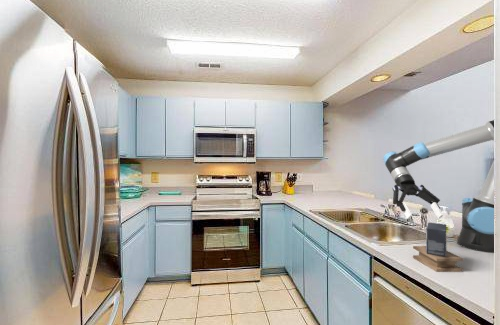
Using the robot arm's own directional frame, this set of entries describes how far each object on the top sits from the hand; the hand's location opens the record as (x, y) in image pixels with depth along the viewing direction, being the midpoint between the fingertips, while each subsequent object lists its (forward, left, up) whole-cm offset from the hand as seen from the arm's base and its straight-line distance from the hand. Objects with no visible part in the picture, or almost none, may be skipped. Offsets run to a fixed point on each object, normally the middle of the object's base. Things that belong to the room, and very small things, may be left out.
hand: (425, 217), depth 105 cm
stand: (0, +6, -18) cm, 19 cm away
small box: (0, +6, -13) cm, 14 cm away
